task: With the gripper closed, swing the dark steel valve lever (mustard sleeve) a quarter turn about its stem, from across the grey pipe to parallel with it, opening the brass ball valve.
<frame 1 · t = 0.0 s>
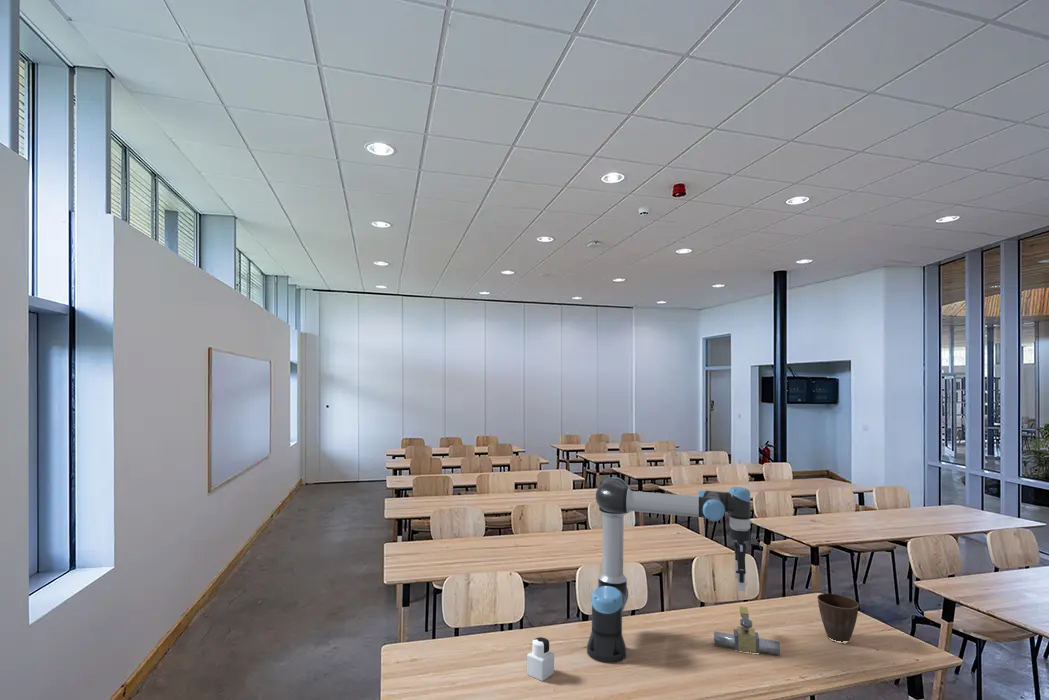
hand: (740, 584, 210), 28 cm above the table, fingers open, 13 cm apart
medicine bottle: (540, 674, 195), on the table
valve: (746, 649, 216), on the table
plant pot: (838, 640, 225), on the table
lever: (745, 616, 222), point 10 cm above the table, hinge at 0.0°
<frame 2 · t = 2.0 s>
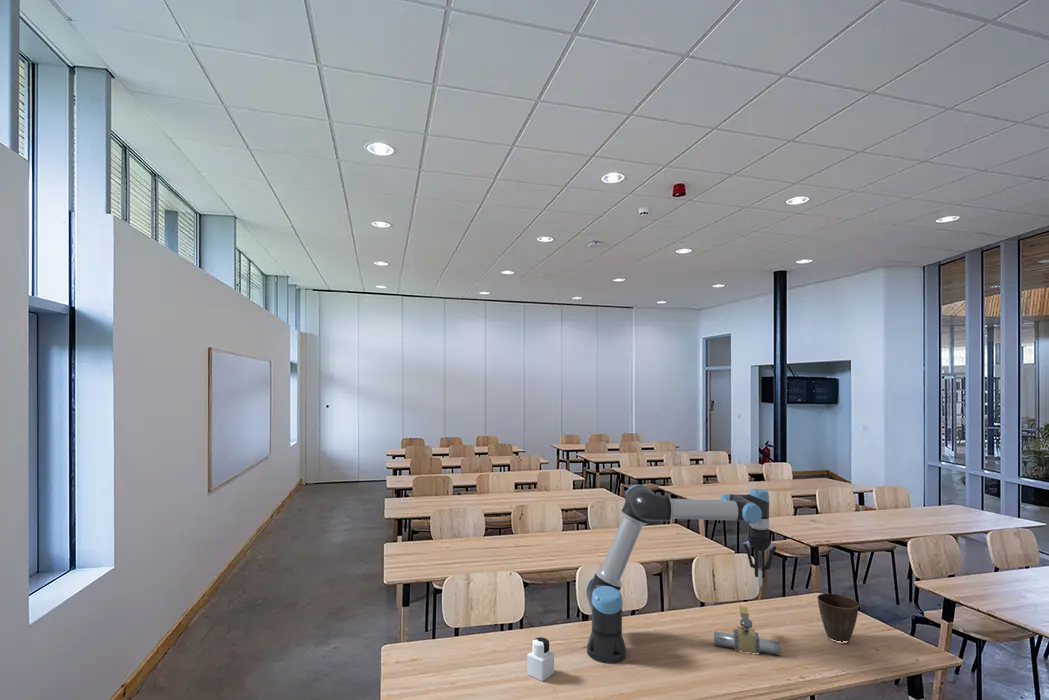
hand: (759, 585, 225), 22 cm above the table, fingers closed
nothing on the table moved.
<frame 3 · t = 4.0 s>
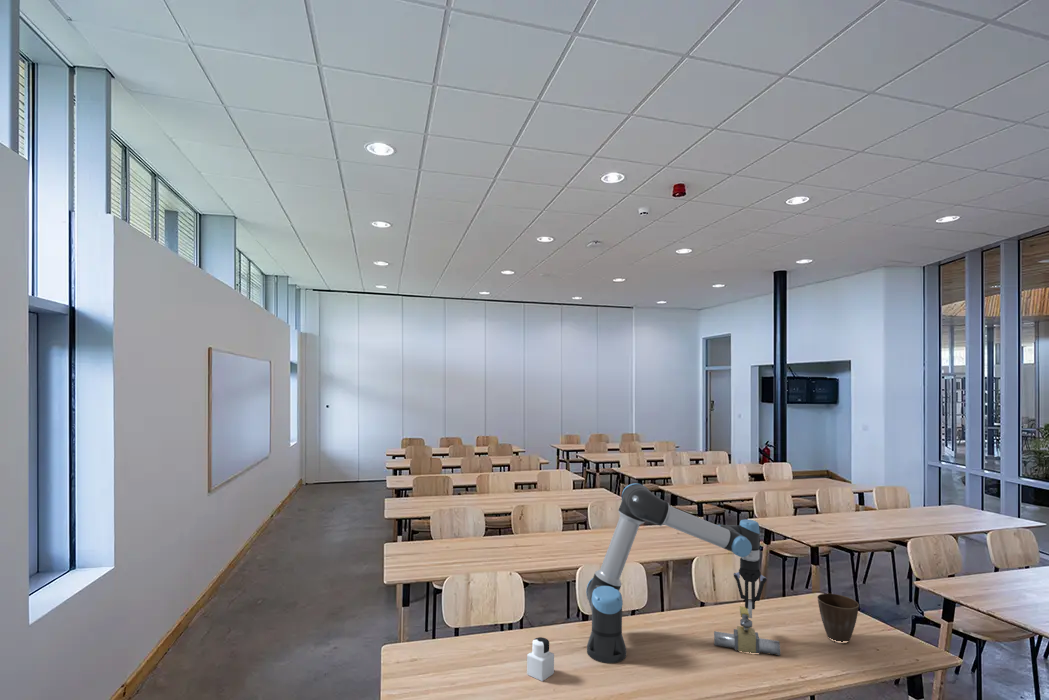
hand: (749, 616, 225), 9 cm above the table, fingers closed
lever: (745, 616, 222), point 10 cm above the table, hinge at 0.1°, touching gripper
everything else where it was.
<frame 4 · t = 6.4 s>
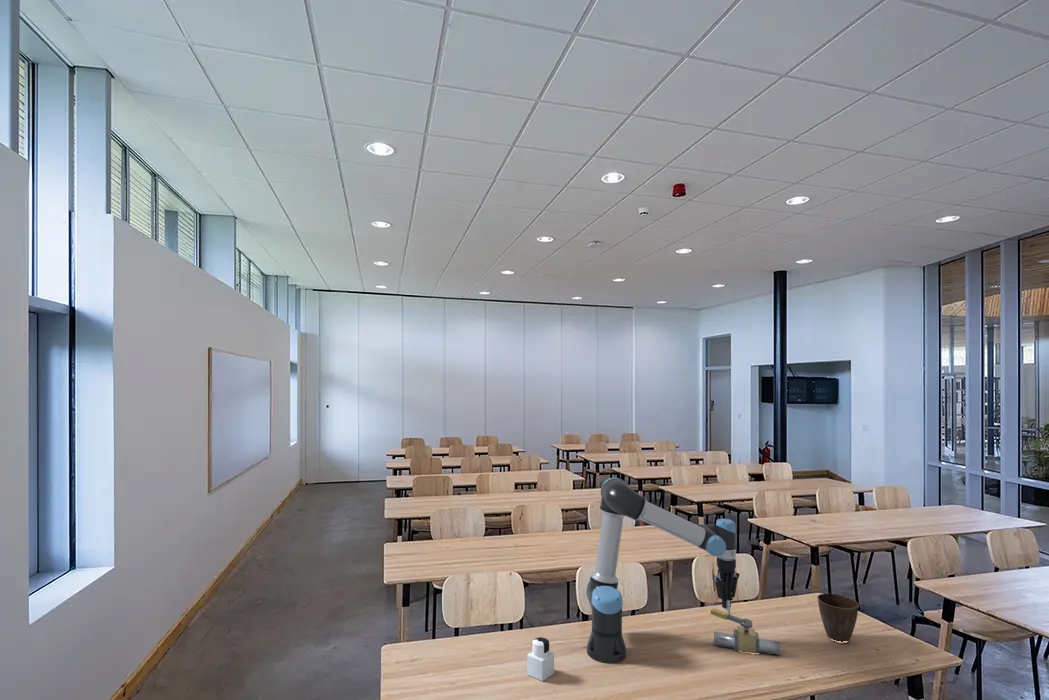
hand: (726, 615, 225), 9 cm above the table, fingers closed
lever: (731, 617, 221), point 10 cm above the table, hinge at 59.8°, touching gripper
everything else where it was.
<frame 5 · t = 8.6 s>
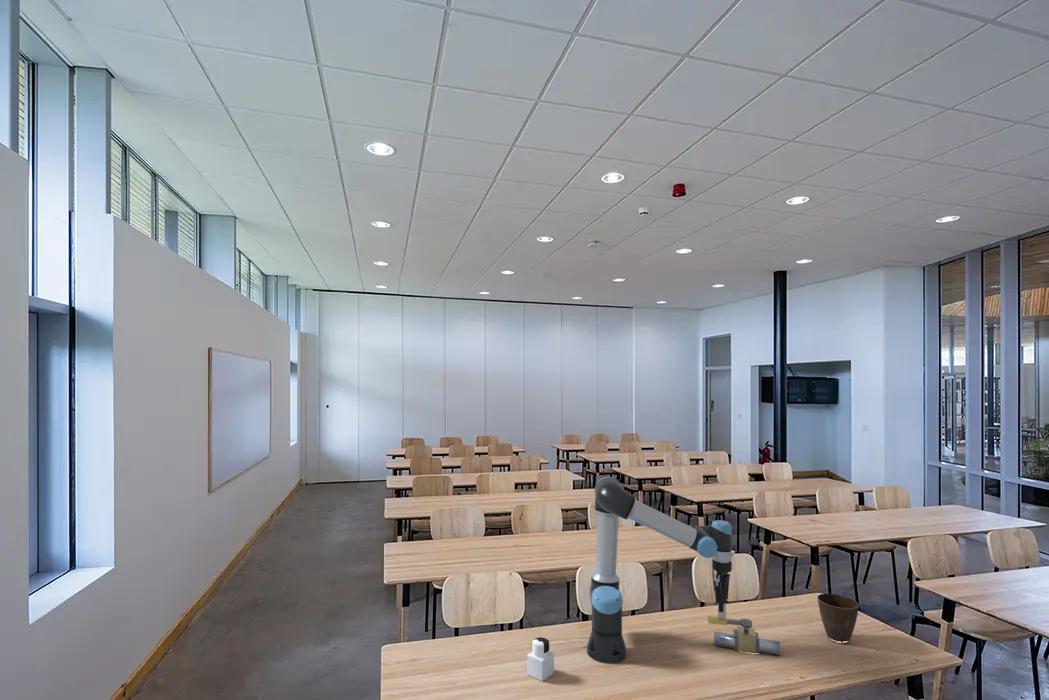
hand: (722, 619, 221), 10 cm above the table, fingers closed
lever: (730, 621, 217), point 10 cm above the table, hinge at 97.6°
everything else where it was.
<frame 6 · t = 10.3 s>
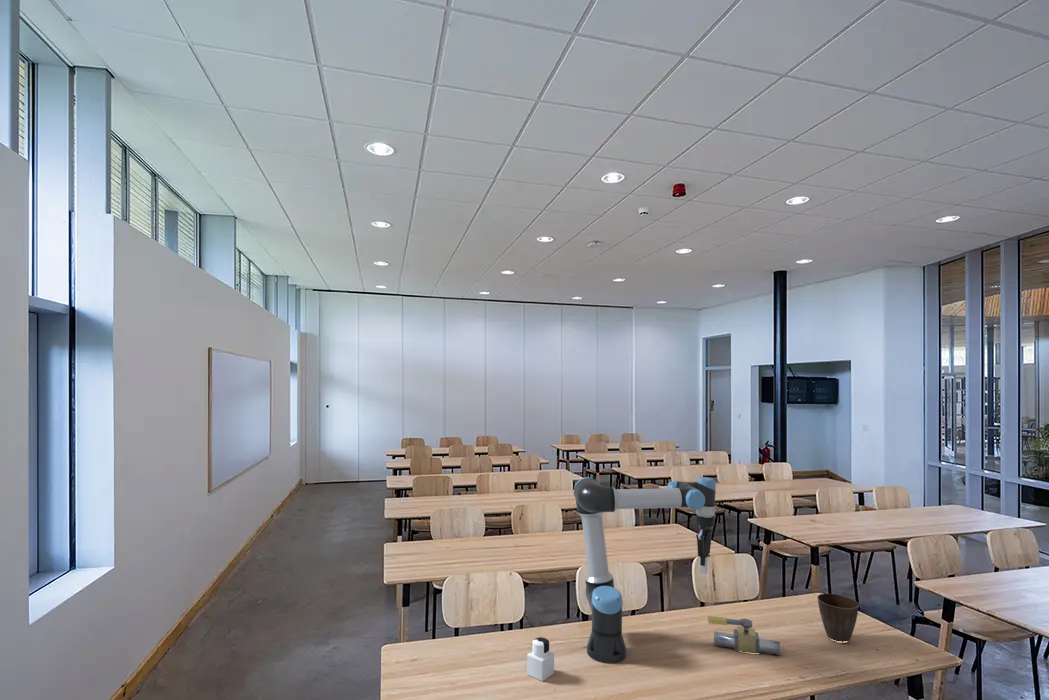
hand: (703, 572, 226), 26 cm above the table, fingers closed
nothing on the table moved.
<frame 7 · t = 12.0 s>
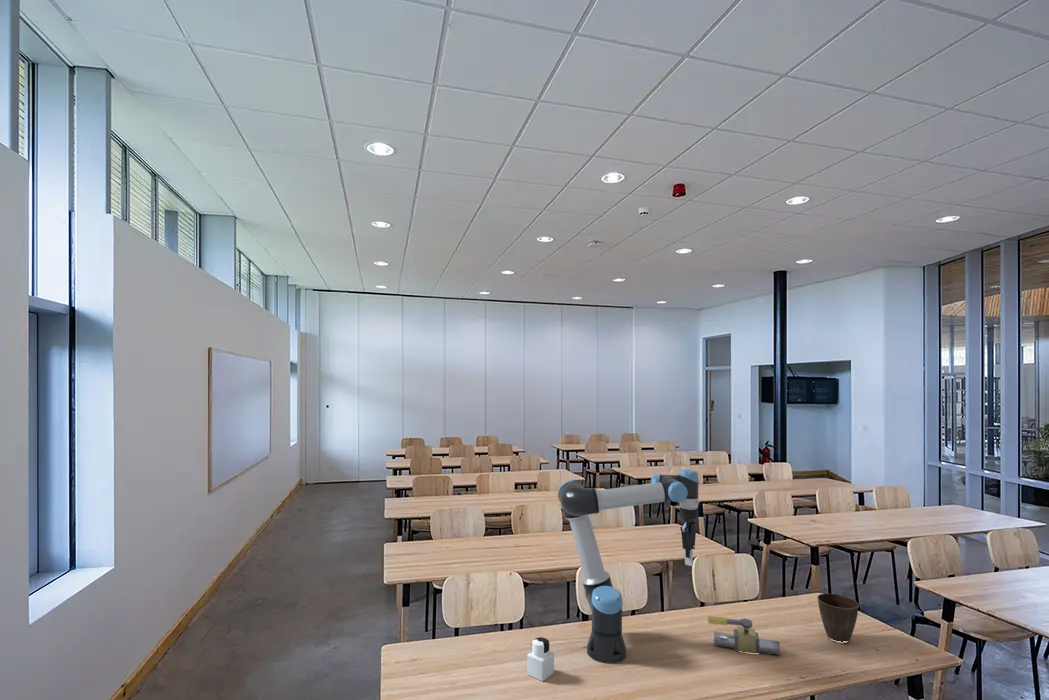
hand: (688, 564, 227), 29 cm above the table, fingers closed
nothing on the table moved.
at the end: lever at +98° (first picture: +0°) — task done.
